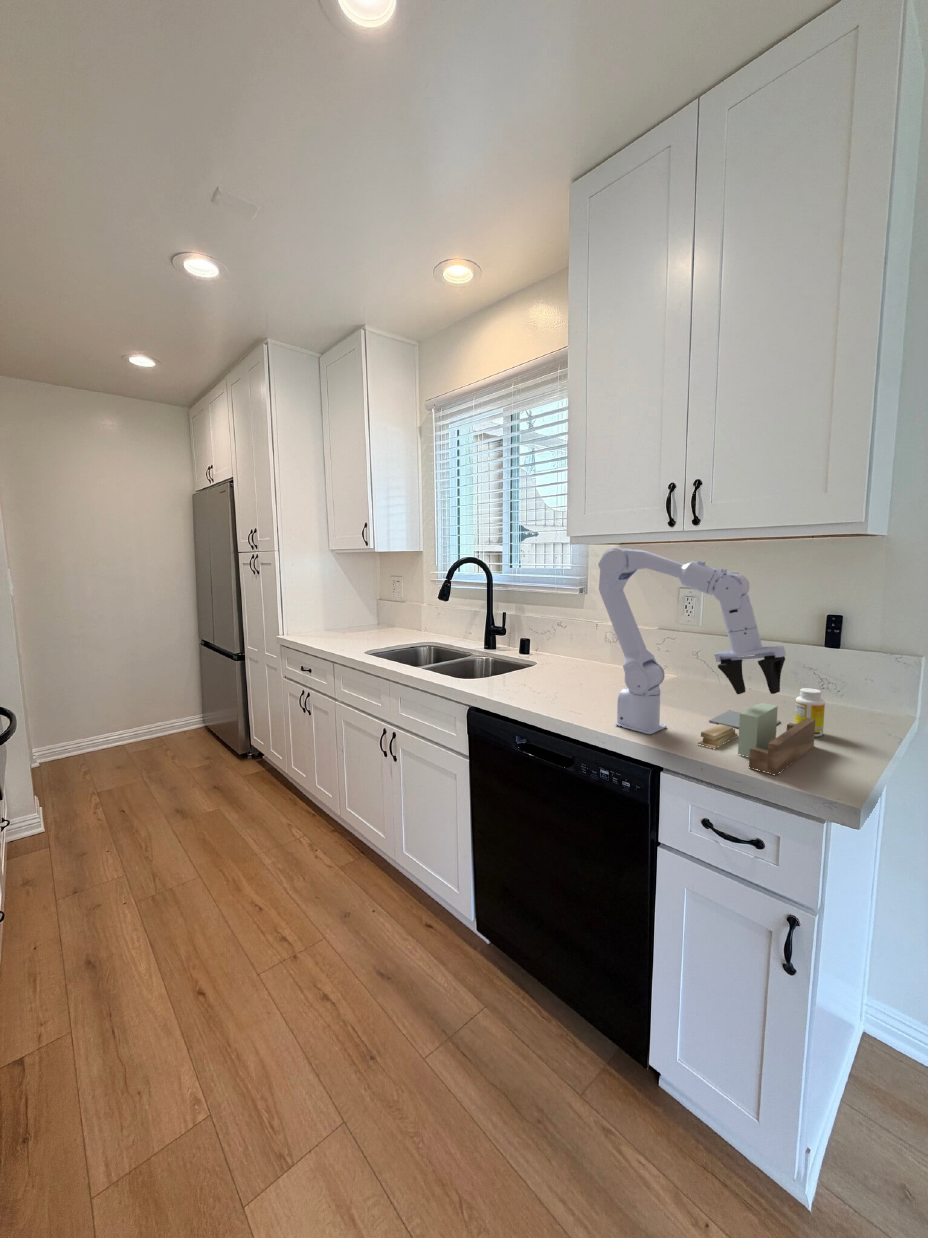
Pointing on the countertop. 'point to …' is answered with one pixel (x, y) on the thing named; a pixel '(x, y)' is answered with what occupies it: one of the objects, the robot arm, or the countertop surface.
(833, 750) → the countertop surface
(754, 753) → the walnut rack
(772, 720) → the tall sage green prism
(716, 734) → the offcut stack
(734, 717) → the slate mat
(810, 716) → the supplement bottle
